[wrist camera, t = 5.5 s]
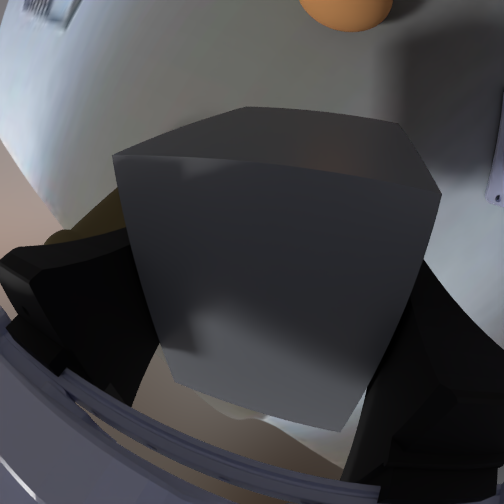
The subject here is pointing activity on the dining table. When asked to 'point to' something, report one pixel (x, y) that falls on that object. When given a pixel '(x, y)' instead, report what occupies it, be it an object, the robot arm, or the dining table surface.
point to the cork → (94, 221)
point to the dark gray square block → (278, 253)
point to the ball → (348, 13)
